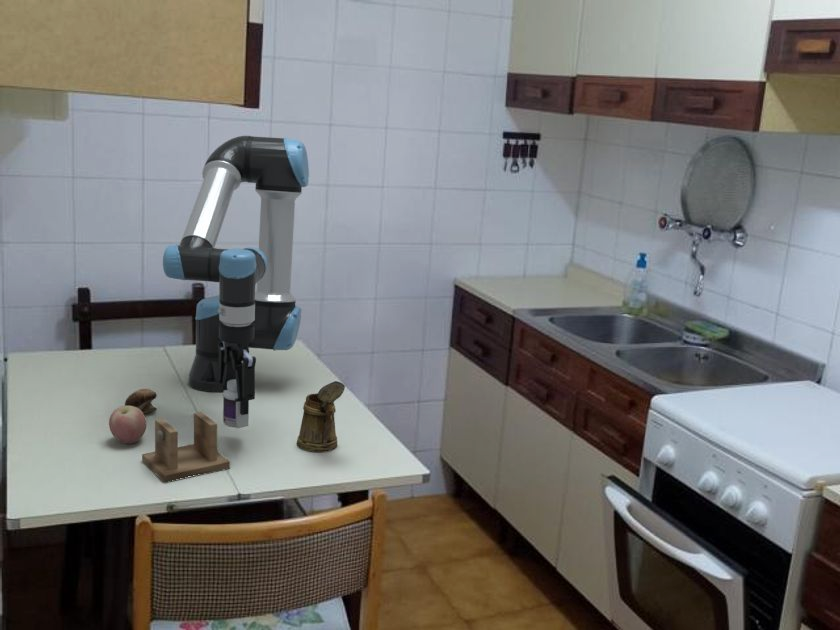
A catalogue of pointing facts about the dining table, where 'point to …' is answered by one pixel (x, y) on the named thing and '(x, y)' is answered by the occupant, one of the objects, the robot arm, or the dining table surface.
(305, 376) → the dining table surface
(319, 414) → the wooden mug
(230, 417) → the pill bottle
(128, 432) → the apple
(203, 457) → the holder
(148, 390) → the mushroom
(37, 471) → the dining table surface
